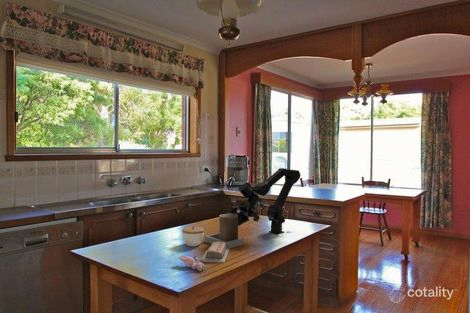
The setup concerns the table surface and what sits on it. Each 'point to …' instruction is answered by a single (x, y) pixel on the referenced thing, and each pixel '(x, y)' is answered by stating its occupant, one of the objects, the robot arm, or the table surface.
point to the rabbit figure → (193, 262)
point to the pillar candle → (228, 227)
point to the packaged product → (216, 253)
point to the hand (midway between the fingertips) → (235, 226)
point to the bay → (229, 244)
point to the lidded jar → (193, 235)
